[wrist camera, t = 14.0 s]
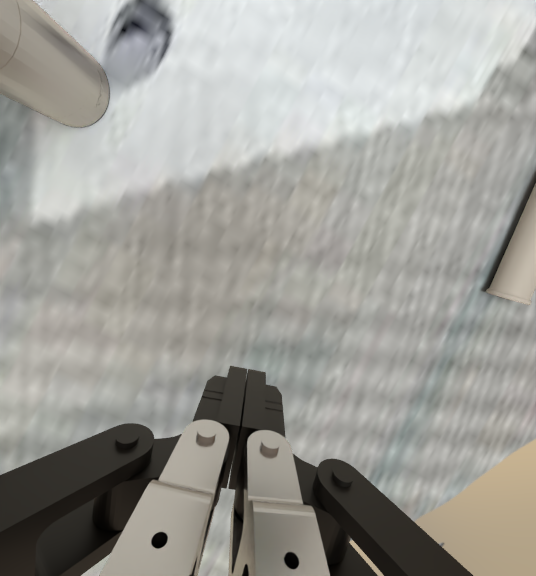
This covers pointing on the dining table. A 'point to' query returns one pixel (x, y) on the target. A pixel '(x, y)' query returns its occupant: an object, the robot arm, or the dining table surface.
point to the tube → (519, 259)
